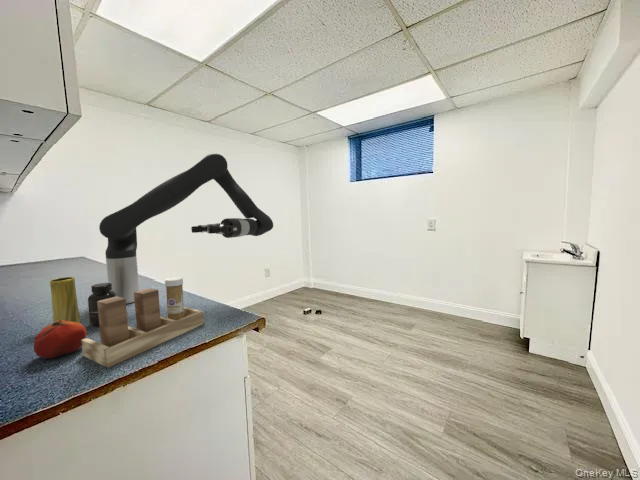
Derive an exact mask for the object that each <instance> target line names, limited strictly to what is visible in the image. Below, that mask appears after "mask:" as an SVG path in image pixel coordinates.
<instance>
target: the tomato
mask: <svg viewBox="0 0 640 480" xmlns="http://www.w3.org/2000/svg"><path fill="white" fill-rule="evenodd" d="M87 334H88V332H87V330H86V327H85V326H84V325H83V324H82V323H76V322H71V321H63V320H57V321H55V322H52V323H49V324H48V325H46V326H45V327H44V328H43V329H42V330H41V331H39V332H38V333H37V335H36V336H35V338H34V341H33V351H34V354H35V355H36V356H38V357H40V358H47V359H54V358H57V357H60V356H63V355H67V354H71V353H74V352H76V351H78V350H79V349H80V348H82V341H81V340H82V339H85V338H87Z"/></svg>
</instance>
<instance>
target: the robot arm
mask: <svg viewBox="0 0 640 480" xmlns="http://www.w3.org/2000/svg"><path fill="white" fill-rule="evenodd" d="M213 180H214V181H215V182H216V183H217V184H218V185H219V186H220V188H222V189H223V191H224V192H225V193H226V194H227V196H228V197H229V199H230V200H231V201H232V203H233V204H234V205H235V206H236V208H237V209H238V210H239V212H240V213H241V214H242V215H243V216H244V218H241V217H239V218H238V217H235V218H233V217H231V218H230V217H229V218H223V219H222V220H221V221H220V223H208V224H203V225H202V224H199V225H196V226H191V228H190V229H191V233H193V234H194V233H196V234H197V233H201V234H203V233H207V234H211V235H213V234H216V235H222V236H223V237H224V238H227V239H230V238H231V239H232V238H239V237H245V236H254V237H258V236H259V237H260V236H262V235H264V234H266V233H268V232H270V231H272V229H274V222H273V220H272V218H271V217H270V216H269V215H267V214H266V213H265V212H264V211H263V210H261V209H260V208H259V207H258V206H257V205H256V204H255V202H254V201H253V200H252V198H251V197H250V196H249V194H248V193H247V192H246V191H245V190H244V189H243V188H242V187H241V186H240V185H239V183H237V182H236V180H235V179H234V178H233V176H232V175H231V173H230V171H229V169H228V161H227V159H226V157H224V156H223V155H222V154H220V153H218V152H211V153H209V154H206V155H205V157H203V158H202V159H201V160H200V161H198V162H197V163H196V164H194V165H193V166H191V167H190V168H188V169H187V170H185V171H183V172H180V173H179V174H177V175H174V176H173V177H171V178H169V179H166V180H165V181H164V182H162V183H160V184H158V185H157V186H155V187H154V188H152V189H151V190H149V191H148V192H146V193H145V194H143V195H142V196H141V197H139V198H138V199H137V200H135V201H133V203H131V204H130V205H129V204H128V205H127V206H125V207H123V208H121V209H119V210H117V211H116V212H113V213H110V214H108V215H107V216H104V217H103V218H102V220H101V221H100V223H99V226H98V227H99V232H100V234H101V235H102V237H105V238H106V239H107V247H106V249H105V263H106V272H107V283H111V284H112V290H111V291H113V292H115V293H116V295H117V297H121V298H125V299H126V305H127V304H131V303H135V301H134V292H136V291H140V284H139V283H140V281H139V272H138V260H137V259H138V258H137V249H138V233H137V228H138V227H139V226H141V224H143V223H144V222H146V221H148V220H149V219H152V218H154V217H157V216H158V215H160V214H163V213H165V212H167V211H168V210H171V209H172V208H175V206H177V205H178V204H180V203H181V202H184V200H186V199H187V198H189V196H191V195H192V194H194V192H196V190H198V189H199V188H200V187H201V186H203V185H205V184H207V183H209V182H210V181H213Z"/></svg>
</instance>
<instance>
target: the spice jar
mask: <svg viewBox="0 0 640 480" xmlns="http://www.w3.org/2000/svg"><path fill="white" fill-rule="evenodd" d="M164 285H165V287H166V289H165V290H166V310H167V318H169V319H173V320H179V319H181V318H184V307H185V301H184V290H183V289H184V288H183V285H184V279H183V277H182V276H171V277H167V278H165V280H164Z"/></svg>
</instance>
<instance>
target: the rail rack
mask: <svg viewBox="0 0 640 480" xmlns="http://www.w3.org/2000/svg"><path fill="white" fill-rule="evenodd" d="M159 295H160V294H159V289H158V288H157V289H156V288H151V287H148V288H145V289H139V291H136V292H134V301H135V302H134V311H135V313H134V314H135V322H136V323H135V324H136V325H135V326H136V328H134V327H131V326H129V323H128V322H129V321H128V311H127V304H126V299H125V298H121V297H117V296H116V297H112V298H108V299H104V300H100V301H97V305H98V315H99V325H100V326H99V336H100V342H98V341H95V340H93V339H90V338H87V337H86V338H85V339H82V340H81V341H82V346H81V348H82V349H81V350H82V356H83V357H85V358H87V359H88V360H91V361H93V362H95V363H97V364H99V365H101V366H104V367H106V368H111V367H113V366H115V365H117V364H119V363H122V362H123V361H126V360H128V359H130V358H133V357H135V356H137V355H139V354H141V353H144V352H147V351H148V350H150V349H152V348H154V347H156V346H159V345H161V344H163V343H165V342H168V341H170V340H171V339H174V338H176V337H178V336H181V335H182V334H185V333H188V332H190V331H192V330H194V329H196V328H198V327H200V326H203V325H204V324H205V319H204V318H205V316H204V311H203V310H199V309H196V308H191V307H186V306H184V318H181V319H179V320H173V319H169V318H168V317H165V316H162V315H161V309H160V308H161V306H160V296H159Z"/></svg>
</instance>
